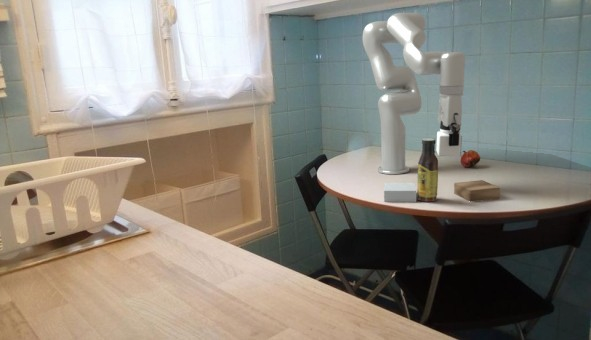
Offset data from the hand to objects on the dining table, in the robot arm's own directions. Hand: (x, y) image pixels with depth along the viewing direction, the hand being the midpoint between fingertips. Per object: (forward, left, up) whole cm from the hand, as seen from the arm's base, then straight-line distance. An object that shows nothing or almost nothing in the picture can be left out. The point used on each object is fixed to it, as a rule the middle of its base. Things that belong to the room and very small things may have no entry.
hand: (448, 142), depth 160 cm
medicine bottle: (0, 0, -4) cm, 4 cm away
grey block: (+7, -19, -16) cm, 26 cm away
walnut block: (+11, +5, -16) cm, 20 cm away
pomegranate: (-28, +19, -16) cm, 38 cm away
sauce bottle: (+12, -11, -16) cm, 23 cm away
